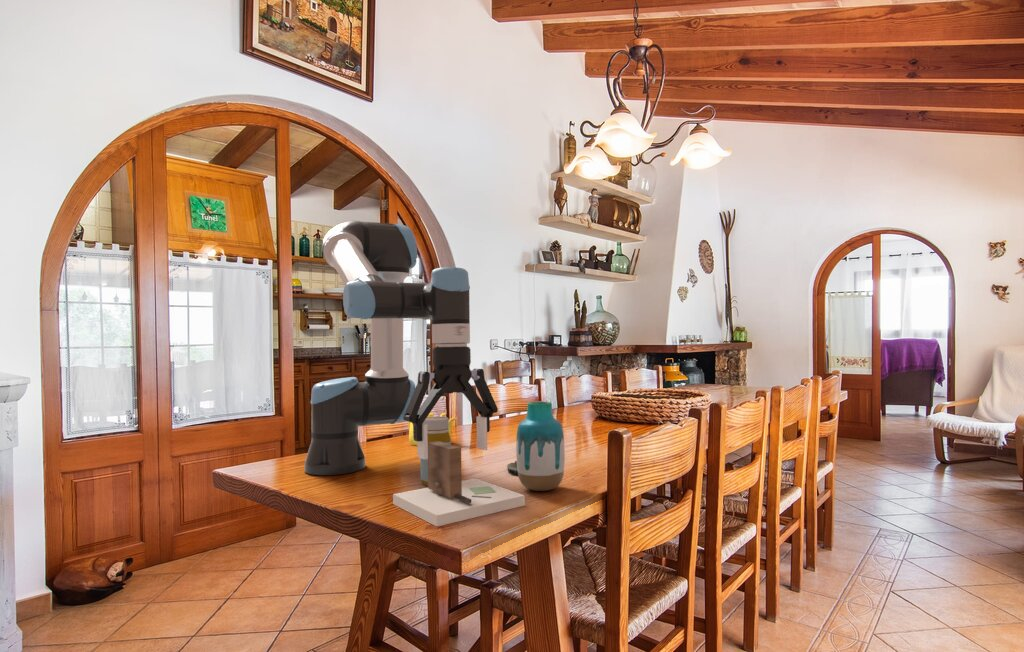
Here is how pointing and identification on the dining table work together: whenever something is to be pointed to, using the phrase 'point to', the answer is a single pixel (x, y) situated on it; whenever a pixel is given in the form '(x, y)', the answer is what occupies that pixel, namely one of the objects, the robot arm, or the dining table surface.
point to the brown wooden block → (445, 470)
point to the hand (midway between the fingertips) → (453, 453)
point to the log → (512, 468)
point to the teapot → (427, 416)
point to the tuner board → (458, 502)
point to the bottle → (434, 439)
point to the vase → (540, 448)
